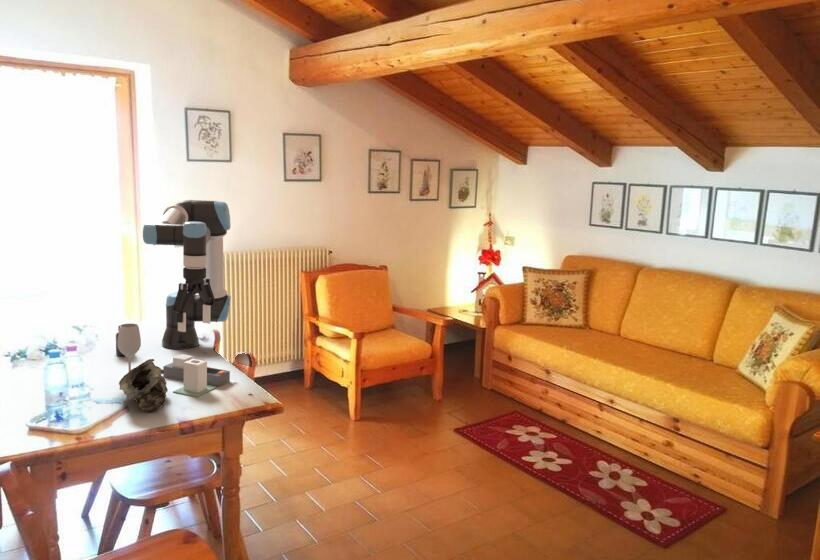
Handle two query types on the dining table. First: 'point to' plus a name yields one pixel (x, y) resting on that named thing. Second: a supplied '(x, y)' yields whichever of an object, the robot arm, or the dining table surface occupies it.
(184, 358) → the block
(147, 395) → the hollow geode rock
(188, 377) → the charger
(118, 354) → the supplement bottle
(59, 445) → the dining table surface
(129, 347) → the wineglass
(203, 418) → the dining table surface
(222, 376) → the power strip
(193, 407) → the dining table surface
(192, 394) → the felt mat
